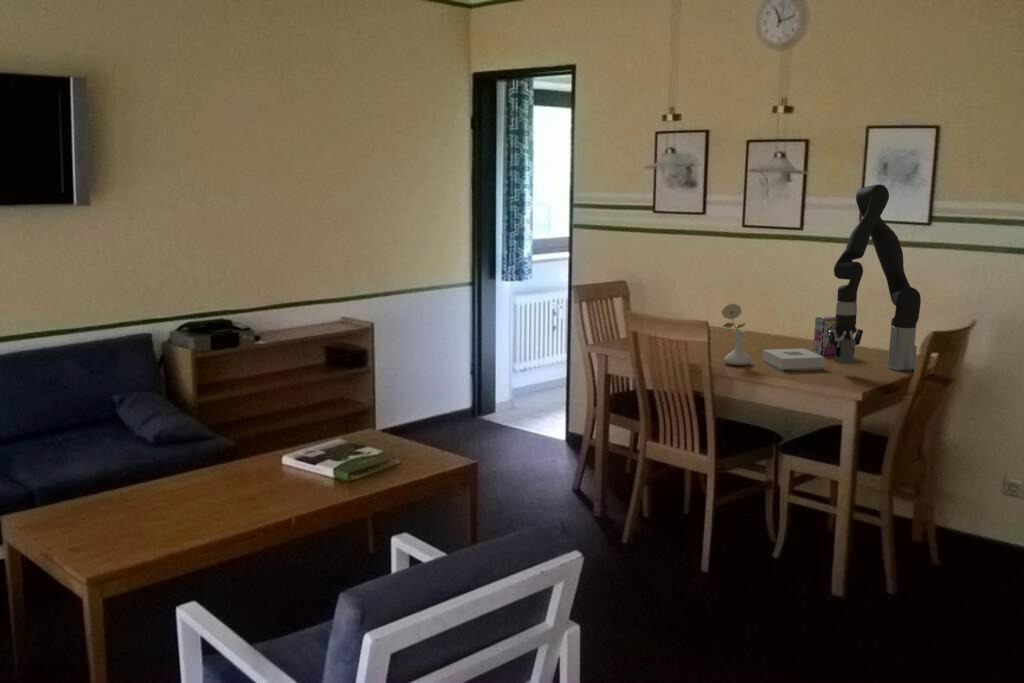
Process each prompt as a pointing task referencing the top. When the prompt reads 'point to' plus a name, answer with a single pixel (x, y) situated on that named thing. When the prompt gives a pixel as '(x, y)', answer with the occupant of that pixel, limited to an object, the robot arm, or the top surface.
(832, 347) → the candy bar box
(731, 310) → the flower in vase
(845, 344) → the plug
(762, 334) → the top surface
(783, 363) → the socket
